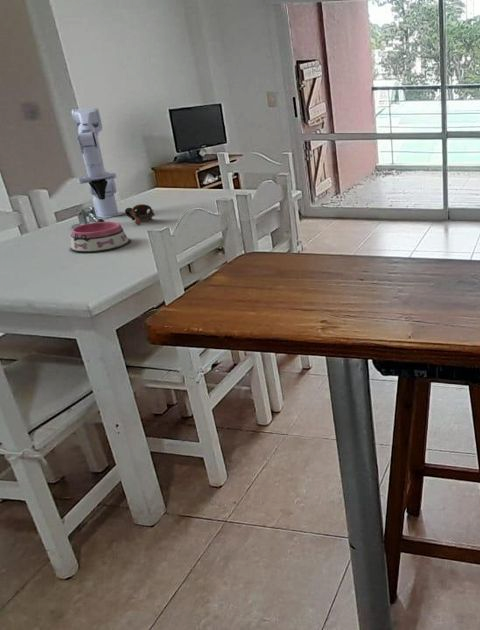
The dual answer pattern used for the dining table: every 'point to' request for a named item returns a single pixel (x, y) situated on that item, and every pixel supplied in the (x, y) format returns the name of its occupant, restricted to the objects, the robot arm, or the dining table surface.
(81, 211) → the tap bracket
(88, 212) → the tap lever
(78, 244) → the dog bowl
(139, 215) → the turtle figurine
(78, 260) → the dining table surface
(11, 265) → the dining table surface
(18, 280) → the dining table surface
